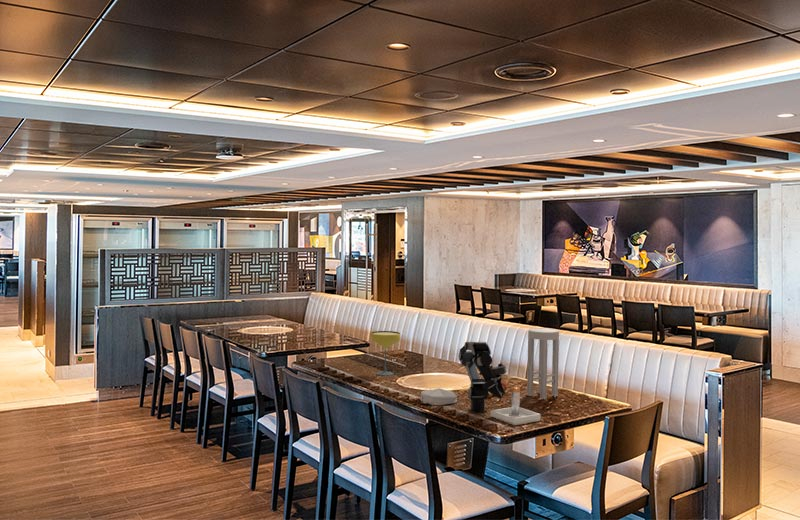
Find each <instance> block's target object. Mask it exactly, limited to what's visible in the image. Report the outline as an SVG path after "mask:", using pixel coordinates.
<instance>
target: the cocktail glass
mask: <svg viewBox="0 0 800 520" xmlns="http://www.w3.org/2000/svg"><path fill="white" fill-rule="evenodd" d="M370 339H371V341H372V342H374V344H377V345H379V346H381V347H382V348H383V350H384V369H383V371H378V372H376V375H377V376H381V375H390V376H393V374H395V373H394V372H391V371H387V350H388V349H389V347H390V346H393V345H394V344H395V345H396V343H398V342H399V341H400V340H401V332H398V331H393V330H380V331H379V330H378V331H377V330H375V331H372V332H371V333H370Z"/></svg>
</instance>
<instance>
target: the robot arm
mask: <svg viewBox="0 0 800 520" xmlns="http://www.w3.org/2000/svg"><path fill="white" fill-rule="evenodd" d="M463 344H464V345H463V346H462V347H461V348H460V349H459V351H458V361H459V363H460V364H461V365H462V366H463V367H465V370H466V372H467V375H468V377H469V380H470V386H469V388H468V391H467V398H468V399H469V400H470V408H468V411H469V412H472V413H475V414H480V413H486V412H487V410H486V409H485V400H488V399H489V398H488V392H490V393H492V394H493V395H492V396H495V397H496V398H498V399H500V400H501V399H502V395H501V394H500V392H501V393H502V394H503V395H504V394H506V391H504V388H503V385H502V382H503V381H502V379H503V375H505V374H506V373H507V369H506V366H505V364H503V363H502V362H501V363H498V364H497V366H495V367H493V365H492V363H493V357H492V356H491V353H492V352H491V349H490V346H489V344H488V343H487V342H486V341H465V342H464V343H463ZM478 371H479V372H478ZM480 376H482V377H483V378H480ZM499 391H500V392H499Z"/></svg>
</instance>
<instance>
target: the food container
mask: <svg viewBox="0 0 800 520" xmlns="http://www.w3.org/2000/svg"><path fill="white" fill-rule="evenodd" d="M420 400H421V401H420ZM419 401H420V402H422V403H423V404H429V405H432V406H433V405H434V406H435V405H436V406H443V405H450V404H451V405H452V404H455V403H458V396H457V394H456V393H455V392H453V391H450V390H447V389H444V388H441V387H439V388H433V389H425V390H422V391H420V399H419Z"/></svg>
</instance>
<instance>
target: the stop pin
mask: <svg viewBox="0 0 800 520" xmlns="http://www.w3.org/2000/svg"><path fill="white" fill-rule="evenodd" d="M520 393H521V388H520V387H519V386H511V413H510V414H509V416H510V417H513V418H517V417H522V415H521V414H519V407H520V404H521V403H520V399H521V398H520V395H521V394H520Z"/></svg>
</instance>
